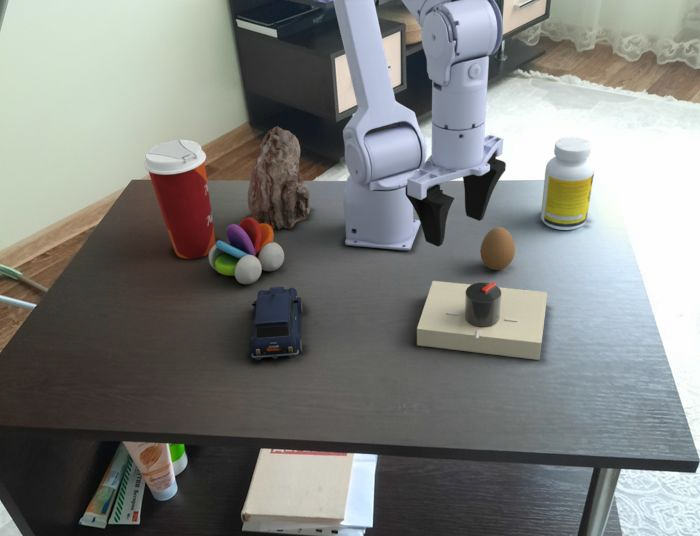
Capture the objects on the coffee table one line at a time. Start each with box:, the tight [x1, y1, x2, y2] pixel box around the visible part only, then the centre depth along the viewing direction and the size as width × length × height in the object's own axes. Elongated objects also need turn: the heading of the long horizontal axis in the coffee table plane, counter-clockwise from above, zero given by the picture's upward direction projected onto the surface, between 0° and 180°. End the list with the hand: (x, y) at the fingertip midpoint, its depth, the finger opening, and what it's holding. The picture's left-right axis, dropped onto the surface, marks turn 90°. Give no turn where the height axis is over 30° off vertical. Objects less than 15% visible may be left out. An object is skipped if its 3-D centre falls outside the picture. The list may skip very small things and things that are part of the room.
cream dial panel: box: [416, 280, 548, 361], centre depth 86 cm, size 14×11×3 cm
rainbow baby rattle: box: [208, 216, 285, 285], centre depth 98 cm, size 8×10×7 cm
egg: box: [479, 226, 516, 271], centre depth 95 cm, size 4×4×6 cm
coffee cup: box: [143, 139, 217, 260], centre depth 101 cm, size 8×8×15 cm
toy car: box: [248, 286, 303, 361], centre depth 87 cm, size 6×12×6 cm, turn 2°
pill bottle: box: [540, 136, 595, 231], centre depth 102 cm, size 6×6×12 cm
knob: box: [465, 281, 501, 327], centre depth 84 cm, size 4×4×4 cm
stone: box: [247, 125, 311, 230], centre depth 106 cm, size 15×8×10 cm
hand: (454, 229), depth 87 cm, fingers open, 7 cm apart
